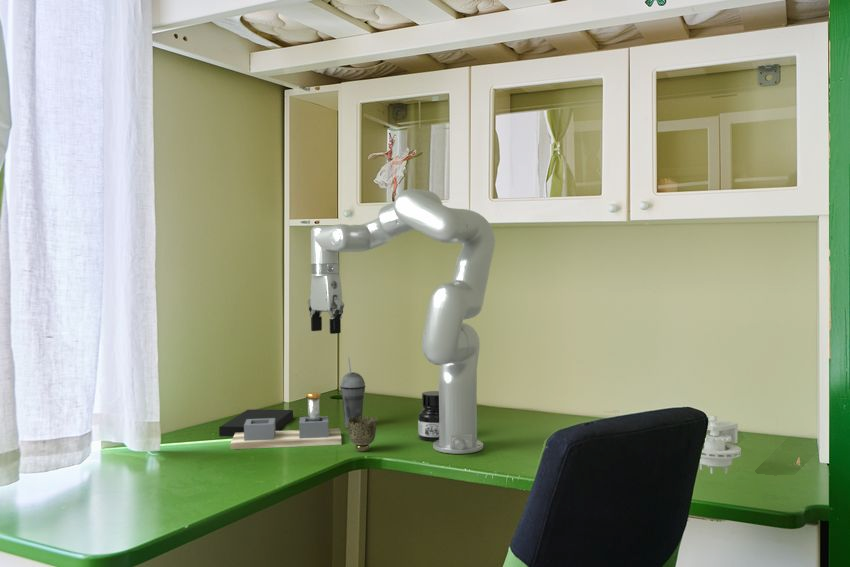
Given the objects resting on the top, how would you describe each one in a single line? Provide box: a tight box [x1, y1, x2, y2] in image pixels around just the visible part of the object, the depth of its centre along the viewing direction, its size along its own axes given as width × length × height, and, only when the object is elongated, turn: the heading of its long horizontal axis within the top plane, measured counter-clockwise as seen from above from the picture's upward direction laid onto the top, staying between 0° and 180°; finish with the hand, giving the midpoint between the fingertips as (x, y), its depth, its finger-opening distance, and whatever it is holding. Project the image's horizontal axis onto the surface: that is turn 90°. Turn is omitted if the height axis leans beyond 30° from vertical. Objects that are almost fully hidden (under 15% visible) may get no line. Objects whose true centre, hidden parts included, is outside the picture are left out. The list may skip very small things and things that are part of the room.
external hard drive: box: [218, 409, 294, 437], centre depth 220 cm, size 14×23×3 cm, turn 174°
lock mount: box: [298, 415, 329, 438], centre depth 203 cm, size 8×8×4 cm
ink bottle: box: [417, 390, 439, 442], centre depth 205 cm, size 10×9×12 cm
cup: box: [347, 415, 378, 453], centre depth 192 cm, size 8×7×8 cm
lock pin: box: [305, 391, 322, 422], centre depth 203 cm, size 4×4×11 cm
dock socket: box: [244, 418, 275, 441], centre depth 201 cm, size 8×8×4 cm
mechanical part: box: [699, 415, 742, 475], centre depth 172 cm, size 11×12×12 cm
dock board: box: [229, 428, 342, 450], centre depth 202 cm, size 12×28×2 cm, turn 98°
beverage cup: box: [339, 356, 366, 429], centre depth 218 cm, size 7×7×20 cm
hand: (325, 332), depth 213 cm, fingers open, 9 cm apart
